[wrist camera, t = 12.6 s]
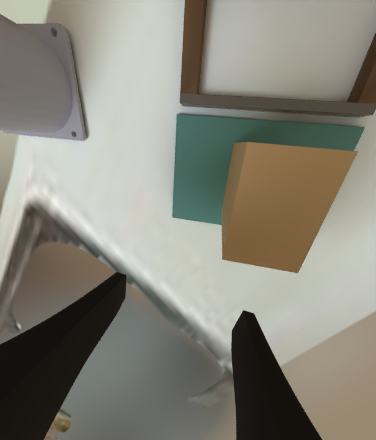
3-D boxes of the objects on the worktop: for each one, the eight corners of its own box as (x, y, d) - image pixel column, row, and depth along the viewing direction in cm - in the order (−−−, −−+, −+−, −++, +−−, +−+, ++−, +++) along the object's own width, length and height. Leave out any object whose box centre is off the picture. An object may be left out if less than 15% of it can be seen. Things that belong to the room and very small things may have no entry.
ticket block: (221, 208, 16) (222, 259, 9) (233, 142, 14) (247, 141, 7) (263, 214, 16) (297, 273, 9) (284, 147, 13) (357, 151, 6)
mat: (173, 215, 18) (172, 217, 18) (178, 114, 14) (176, 114, 14) (309, 236, 16) (311, 238, 16) (360, 127, 12) (365, 127, 12)
